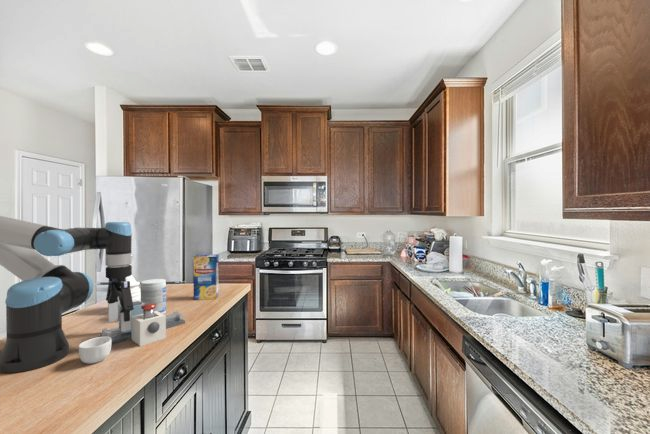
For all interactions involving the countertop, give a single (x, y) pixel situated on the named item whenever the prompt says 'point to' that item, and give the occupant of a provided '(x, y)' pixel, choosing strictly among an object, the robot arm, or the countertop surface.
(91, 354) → the teacup
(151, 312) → the plunger
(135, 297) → the honey pot
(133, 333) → the white push button housing
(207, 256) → the blue cardboard box
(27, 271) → the robot arm
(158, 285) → the supplement tub
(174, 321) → the rail
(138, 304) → the carriage
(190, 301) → the countertop surface
